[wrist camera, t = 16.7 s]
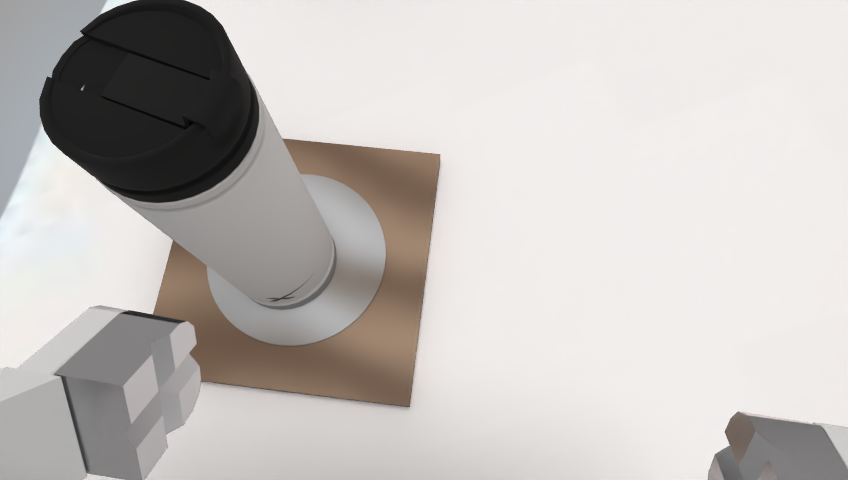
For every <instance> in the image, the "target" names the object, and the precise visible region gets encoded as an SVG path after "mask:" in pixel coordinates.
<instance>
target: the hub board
mask: <svg viewBox="0 0 848 480" xmlns="http://www.w3.org/2000/svg"><path fill="white" fill-rule="evenodd" d="M282 140H283V142H284V144H285V145H286V147H287V149H288V151H289V153H290V155H291V157H292V159H293V161H294V163H295V165H296V167H297V169H298V171H299V173H300V175H301V177H302V179H303V181H304V183H305V185H306V187H307V189H308V191H309V193H310V194H311V196H312V198H313V200H314V202H315V204H316V206H317V208H318V210H319V212H320V214H321V216H322V218H323V220H324V222H325V224H326V226H327V228H328V230H329V232H330V234H331V236H332V238H333V240H334V243H335V247H336V253H337V261H336V267H335V271H334V274H333V276H332V279H331V280H330V282H329V284H328V285H327V287H326V288H325V289H324V290H323V291H322V292H321V294H320V295H318V296H317V297H316V298H315V299H313V300H312V301H310V302H308V303H306V304H304V305H302V306H300V307H296V308H293V309H284V310H278V309H270V308H267V307H264V306H261V305H259V304H257V303H256V302H254V301H252V300H251V299H250V298H248V297H247V296H246V295H245V294H243V293H242V292H241V291H239V290H238V289H237V288H235V287H234V286H233V285H231V284H230V283H229V282H228V281H226V280H225V279H224V278H222V277H221V276H220V275H218V274H217V273H216V272H214V271H213V270H212V269H211V268H209V267H208V266H207V265H205V264H204V263H203V262H201V261H200V260H199V259H198V258H196V257H195V256H194V255H192V254H191V253H190V252H188V251H187V250H186V249H184V248H183V247H182V246H181V245H179V244H178V243H177V242H175V241H174V240H173V243H172V246H171V250H170V254H169V258H168V261H167V265H166V269H165V272H164V276H163V280H162V283H161V287H160V291H159V295H158V298H157V302H156V306H155V309H154V313H153V315H157V316H162V317H168V318H173V319H178V320H184V321H188V322H189V323H190V324H192V325H193V326H194V330H195V336H196V342H197V344H196V345H195V346H194V348H193V349H192V350H191V351H190V353H189V354H190V355H191V356H192V358H193V359H194V360H195V361H196V362H197V364H198V365H199V366H200V375H201V381H206V382H214V383H222V384H230V385H238V386H246V387H254V388H262V389H270V390H278V391H286V392H294V393H302V394H310V395H318V396H326V397H334V398H342V399H350V400H358V401H366V402H374V403H382V404H390V405H398V406H406V407H410V399H411V391H412V383H413V375H414V367H415V359H416V351H417V343H418V335H419V327H420V319H421V311H422V303H423V295H424V287H425V279H426V270H427V262H428V254H429V246H430V238H431V230H432V222H433V214H434V206H435V198H436V190H437V182H438V174H439V166H440V154H432V153H422V152H412V151H402V150H392V149H382V148H372V147H362V146H352V145H341V144H331V143H321V142H311V141H301V140H291V139H282Z"/></svg>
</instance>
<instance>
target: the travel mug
mask: <svg viewBox="0 0 848 480" xmlns="http://www.w3.org/2000/svg"><path fill="white" fill-rule="evenodd" d="M80 32H81V33H82V34H83V35H84V36H82V37H81V38H79V39H78V40H76V41H74V42H73V44H72V45H71V46H70V47H69V48H68V49H67V51H66V52H65V53H64V54H63V55H62V57H61V58H60V60H59V62H58V63H57V65H56V67H55V68H54V70H53V74H52V78H50V77H47V78H46V81H45V84H44V87H43V90H42V93H41V96H40V99H39V100H40V101H39V102H40V117H41V121H42V124H43V127H44V130H45V132H46V134H47V135H48V137H49V138H50V140H51V142H52V143H53V144H54V145H55V146H56V147H57V148H58V149H59V150H61V151H62V152H63V153H64V154H65V155H66V156H68V157H69V158H70V159H72V160H73V161H74V162H75V163H77V164H78V165H79V166H81V167H82V168H83V169H84V170H86V171H87V172H88V173H90V174H91V175H92V176H94V177H95V178H96V179H97V180H98V181H99V182H100V183H101V184H102V185H103V186H104V187H105V188H107V189H108V190H109V191H110V192H111V193H113V194H114V195H116V196H117V197H118V198H120V199H121V200H122V201H123V202H124V203H126V204H127V205H128V206H130V207H131V208H132V209H134V210H135V211H136V212H138V213H139V214H140V215H141V216H143V217H144V218H145V219H147V220H148V221H149V222H151V223H152V224H153V225H154V226H156V227H157V228H158V229H160V230H161V231H162V232H164V233H165V234H166V235H168V236H169V237H170V238H171V239H173V240H174V241H175V242H177V243H178V244H179V245H181V246H182V247H183V248H184V249H186V250H187V251H188V252H190V253H191V254H192V255H194V256H195V257H196V258H198V259H199V260H200V261H201V262H203V263H204V264H205V265H207V266H208V267H209V268H211V269H212V270H213V271H214V272H216V273H217V274H218V275H220V276H221V277H222V278H224V279H225V280H226V281H228V282H229V283H230V284H231V285H233V286H234V287H235V288H237V289H238V290H239V291H241V292H242V293H243V294H245V295H246V296H247V297H248V298H250V299H251V300H252V301H254V302H256V303H257V304H259V305H261V306H264V307H267V308H270V309H278V310H284V309H293V308H296V307H300V306H302V305H304V304H306V303H308V302H310V301H312V300H313V299H315V298H316V297H317V296H318V295H320V294H321V292H322V291H323V290H324V289H325V288H326V287H327V285H328V284H329V282H330V280H331V279H332V276H333V274H334V271H335V267H336V261H337V253H336V247H335V243H334V240H333V238H332V236H331V234H330V232H329V230H328V228H327V226H326V224H325V222H324V220H323V218H322V216H321V214H320V212H319V210H318V208H317V206H316V204H315V202H314V200H313V198H312V196H311V194H310V193H309V191H308V189H307V187H306V185H305V183H304V181H303V179H302V177H301V175H300V173H299V171H298V169H297V167H296V165H295V163H294V161H293V159H292V157H291V155H290V153H289V151H288V149H287V147H286V145H285V144H284V142H283V140H282V138H281V136H280V134H279V132H278V130H277V128H276V126H275V124H274V122H273V120H272V118H271V116H270V114H269V112H268V110H267V108H266V106H265V104H264V102H263V100H262V98H261V96H260V95H259V93H258V91H257V89H256V87H255V85H254V83H253V81H252V79H251V77H250V76H249V75H248V74H247V73H246V71H245V69H244V67H243V65H242V63H241V61H240V59H239V57H238V55H237V53H236V51H235V49H234V47H233V45H232V44H231V42H230V40H229V38H228V36H227V34H226V32H225V30H224V28H223V26H222V25H221V24H220V23H219V21H218V20H217V19H216V18H215V17H214V16H213V15H212V14H211V13H209V12H208V11H206V10H205V9H203V8H202V7H200V6H198V5H195V4H193V3H190V2H188V1H185V0H137V1H133V2H130V3H127V4H123V5H120V6H117V7H115V8H113V9H111V10H109V11H107V12H105V13H103V14H101V15H99V16H98V17H97V18H96V19H94V20H93V21H92V22H91V23H89V24H88V25H87V26H86V27H85V28H83V29H82V30H81V31H80Z"/></svg>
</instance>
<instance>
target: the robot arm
mask: <svg viewBox="0 0 848 480" xmlns="http://www.w3.org/2000/svg"><path fill="white" fill-rule="evenodd" d="M196 344H197V342H196V336H195V330H194V326H193V325H192V324H190V323H189V322H188V321H184V320H178V319H173V318H168V317H162V316H157V315H152V314H146V313H141V312H136V311H130V310H129V311H126V310H122V309H117V308H111V307H106V306H100V305H99V306H95V307H90V308H88V309H87V310H86V311H85V312H84V313H83V314H81V315H80V316H79V317H78V318H77V319H75V320H74V321H73V322H72V323H71V324H69V325H68V326H67V327H66V328H65V329H63V330H62V331H61V332H60V333H59V334H57V335H56V336H55V337H54V338H53V339H52V340H50V341H49V342H48V343H47V344H46V345H44V346H43V347H42V348H41V349H40V350H38V351H37V352H36V353H35V354H34V355H32V356H31V357H30V358H29V359H28V360H26V361H25V362H24V363H23V364H22V365H20V366H19V367H18V368H17V369H15V368H9V367H6V368H3V369H0V480H83V479H84V478H86V477H87V473H88V474H94V475H100V476H107V477H113V478H119V479H125V480H145V479H146V477H147V476H148V474H149V473H150V472H151V470H152V469H153V467H154V466H155V465H156V463H157V462H158V460H159V459H160V458H161V456H162V455H163V453H164V452H165V451H166V449H167V448H168V445H167V438H166V434H168V433H170V432H171V431H173V430H175V429H177V428H179V427H181V426H183V425H184V423H185V422H186V420H187V419H188V418H189V416H190V415H191V413H192V412H193V409H194V406H195V404H196V401H197V398H198V396H199V392H200V382H201V375H200V366H199V365H198V364H197V362H196V361H195V360H194V359H193V358H192V356H191V355H190V354H189V353H190V351H191V350H192V349H193V348H194V346H195V345H196ZM725 434H726V436H727V439H728V441H729V444H730V446H728V447H726V448H725V449H723V450H721V451H720V452H718V453H716V454H715V456H714V458H713V461H712V464H711V466H710V469H709V473H708V480H848V427H842V426H835V425H828V424H821V423H808V422H802V421H795V420H789V419H783V418H776V417H770V416H764V415H757V414H751V413H745V412H737V413H736V414H735V415H734V416H733V417H732V418H731V419H730V421H729V423H728V426H727V428H726V430H725Z"/></svg>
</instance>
